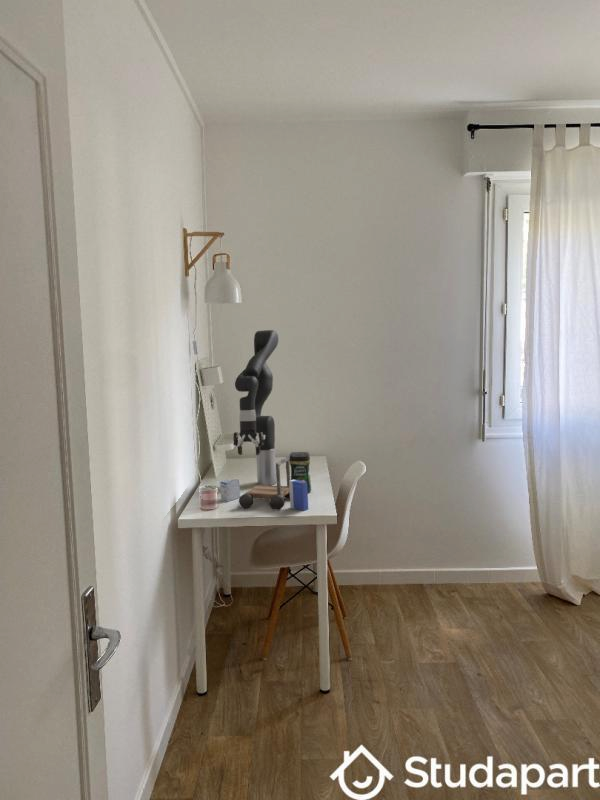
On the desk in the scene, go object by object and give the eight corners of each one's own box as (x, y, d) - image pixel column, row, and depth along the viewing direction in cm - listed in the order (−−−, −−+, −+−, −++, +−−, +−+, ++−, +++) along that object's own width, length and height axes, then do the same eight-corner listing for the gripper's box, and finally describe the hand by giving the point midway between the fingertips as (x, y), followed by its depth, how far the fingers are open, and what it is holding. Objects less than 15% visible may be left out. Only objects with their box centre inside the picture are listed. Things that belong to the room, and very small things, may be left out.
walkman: (308, 509, 270) (307, 480, 269) (303, 510, 268) (302, 482, 267) (294, 506, 275) (293, 478, 274) (290, 507, 273) (288, 479, 272)
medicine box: (233, 496, 297) (232, 477, 296) (240, 497, 294) (239, 478, 293) (221, 500, 291) (219, 481, 290) (228, 502, 288) (226, 482, 287)
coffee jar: (289, 494, 295) (287, 454, 293) (292, 489, 303) (289, 450, 301) (310, 494, 294) (308, 453, 291) (312, 489, 301) (310, 450, 299)
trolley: (255, 496, 294) (253, 455, 291) (297, 498, 287) (295, 455, 285) (239, 508, 277) (236, 463, 275) (283, 510, 270) (280, 464, 268)
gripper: (265, 419, 300) (266, 453, 301) (237, 419, 305) (238, 453, 306) (259, 420, 293) (260, 456, 294) (230, 420, 298) (231, 455, 299)
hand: (249, 454), depth 300 cm, fingers open, 8 cm apart
